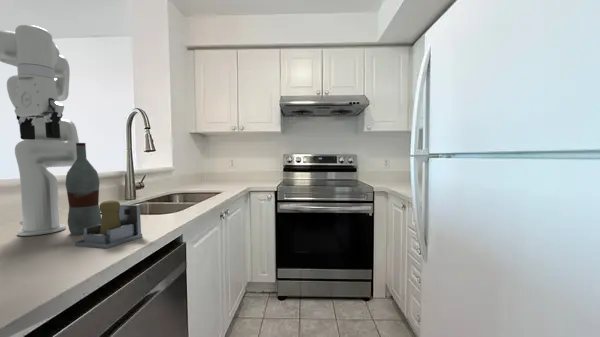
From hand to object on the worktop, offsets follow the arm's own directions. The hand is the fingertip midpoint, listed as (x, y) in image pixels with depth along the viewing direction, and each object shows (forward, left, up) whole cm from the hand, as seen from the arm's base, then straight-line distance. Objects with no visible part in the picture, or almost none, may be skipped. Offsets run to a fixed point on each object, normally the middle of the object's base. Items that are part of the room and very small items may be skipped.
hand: (40, 138), depth 81 cm
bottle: (-8, +17, -31) cm, 36 cm away
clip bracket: (+11, +10, -30) cm, 34 cm away
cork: (+12, +10, -30) cm, 33 cm away
